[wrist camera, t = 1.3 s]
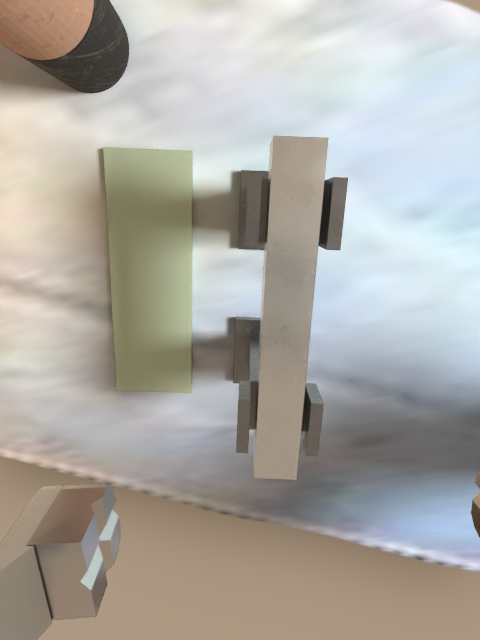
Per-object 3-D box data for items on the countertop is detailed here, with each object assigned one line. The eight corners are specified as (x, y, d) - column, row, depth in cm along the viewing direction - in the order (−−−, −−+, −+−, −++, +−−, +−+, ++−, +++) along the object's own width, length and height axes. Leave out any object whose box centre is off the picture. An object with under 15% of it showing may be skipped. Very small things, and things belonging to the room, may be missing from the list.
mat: (192, 151, 35) (191, 150, 35) (191, 390, 42) (190, 393, 41) (105, 148, 35) (103, 147, 35) (118, 387, 42) (116, 389, 41)
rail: (318, 146, 24) (328, 137, 21) (291, 453, 30) (296, 479, 27) (270, 144, 24) (273, 135, 21) (253, 452, 30) (253, 477, 27)
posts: (316, 174, 35) (363, 149, 21) (298, 382, 41) (325, 475, 27) (241, 171, 36) (236, 144, 21) (233, 379, 41) (225, 470, 27)
